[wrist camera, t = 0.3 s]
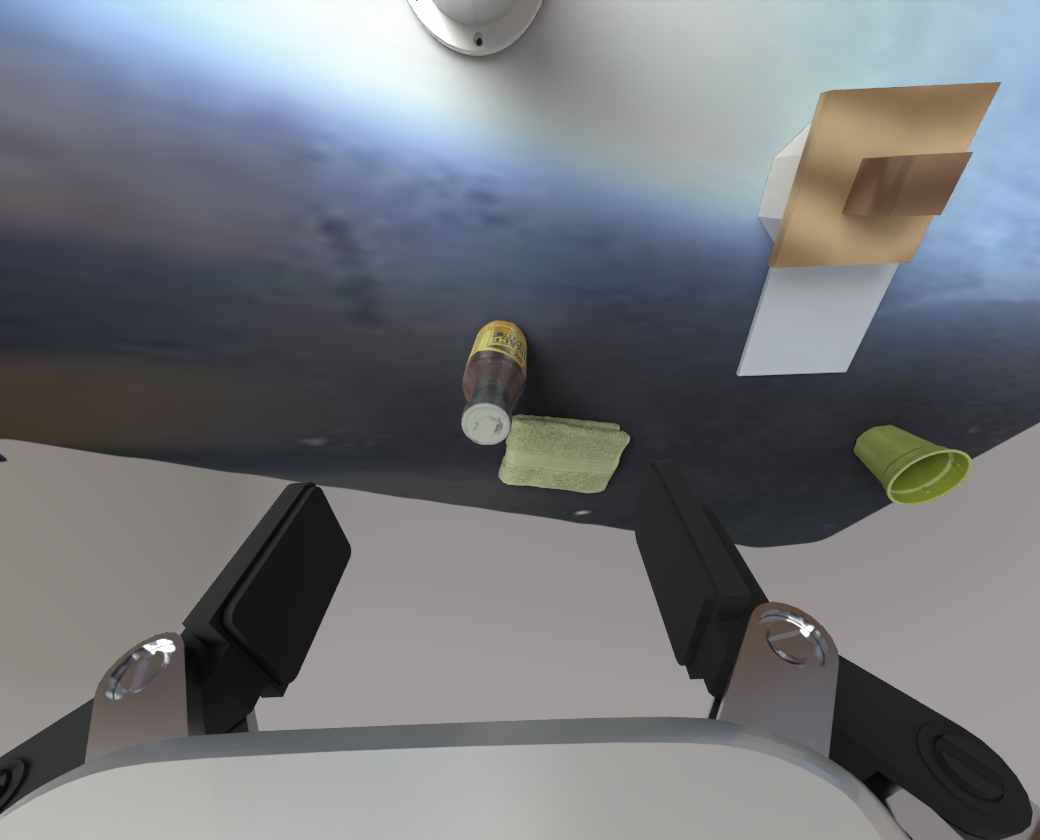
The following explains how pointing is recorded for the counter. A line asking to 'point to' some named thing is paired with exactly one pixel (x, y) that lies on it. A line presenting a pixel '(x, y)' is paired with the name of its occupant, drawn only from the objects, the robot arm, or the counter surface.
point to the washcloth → (562, 453)
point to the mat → (813, 318)
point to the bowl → (781, 183)
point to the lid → (877, 172)
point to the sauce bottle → (494, 381)
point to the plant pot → (911, 464)
